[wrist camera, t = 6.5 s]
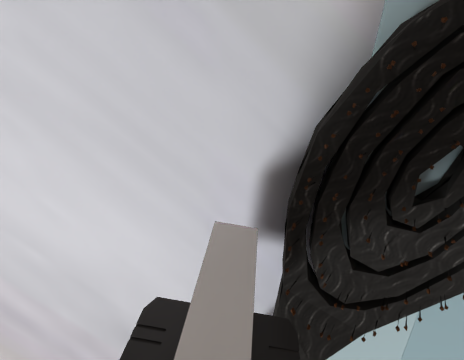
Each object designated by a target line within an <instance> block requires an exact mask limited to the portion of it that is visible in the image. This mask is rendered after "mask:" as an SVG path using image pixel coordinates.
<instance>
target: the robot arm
mask: <svg viewBox="0 0 464 360" xmlns="http://www.w3.org/2000/svg"><path fill="white" fill-rule="evenodd" d="M257 237H258V229H257V228H251V227H246V226H240V225H234V224H228V223H222V222H216V221H215V223H214V226H213V230H212V233H211V237H210V240H209V243H208V247H207V250H206V253H205V257H204V260H203V263H202V267H201V270H200V273H199V277H198V280H197V284H196V287H195V290H194V294H193V297H192V300H191V303H189V302H183V301H178V300H172V299H166V298H161V297H157V298H155V299H154V300H153V301H152V302H151V303H150V304H148V305H147V306H146V307H145V308H144V309H143V311H142V313H141V315H140V317H139V319H138V322H137V324H136V327H135V328H134V330H133V332H132V334H131V337H130V340H129V341H128V343H127V345H126V347H125V349H124V351H123V354H122V356H121V358H120V360H300V355H299V343H298V334H297V332H296V331H295V329H294V327H293V326H292V324H291V322H290V321H289V319H287V318H282V317H276V316H270V315H264V314H259V313H253V312H254V293H255V274H256V256H257Z"/></svg>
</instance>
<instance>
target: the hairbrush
mask: <svg viewBox="0 0 464 360" xmlns="http://www.w3.org/2000/svg"><path fill="white" fill-rule="evenodd" d="M387 84H388V85H387ZM386 85H387V86H386ZM385 86H386V87H385ZM384 87H385V88H384ZM382 88H384V89H383V90H382V91H381V92H380V94H379V95H378V96H377V97H376V98H375V99H374V100H373V102H372V103H371V104H370V102H371V101H372V99H373V98H374V96H375V95H376V93H377V92H379V91H380V90H381V89H382ZM369 104H370V105H369ZM368 105H369V106H368ZM367 106H368V107H367ZM365 109H366V110H365ZM460 145H461V146H462V147H463V149H462V151H461V152H460V153H459V155H458V156H457V158H456V159H455V160H454V162H453V163H452V165H451V166H450V167H449V169H448V170H447V171H446V173H445V174H444V176H443V177H442V178H441V180H440V181H439V183H438V184H436V185H434V186H432V187H430V188H429V189H427V190H425V191H423V192H422V193H420V194H418V195H416V196H415V193H416V189H417V184H418V182H421V179H419V176H420V175H421V174H422V173H423V172H425V171H426V170H427V169H429V168H430V169H433V168H434V166H433V165H434V164H435V163H437V162H438V161H440V160H441V159H442V158H444V157H445V156H446V155H448V154H449V153H450V152H452V151H453V150H454V149H456V148H457V147H459V146H460ZM336 151H337V152H336ZM372 151H373V152H372ZM371 152H372V153H371ZM335 153H336V154H335ZM370 153H371V155H370ZM334 154H335V156H334ZM369 155H370V157H369V159H368V160H367V158H368V156H369ZM333 156H334V158H333V161H332V163H331V165H330V167H329V169H328V171H327V173H326V175H325V177H324V180H323V182H322V184H321V186H320V188H319V185H320V182H321V179H322V176H323V173H324V170H325V167H326V166H327V164H328V163H329V161H330V160H331V159H332V157H333ZM366 161H367V162H366ZM365 163H366V164H365ZM318 189H319V190H318ZM386 191H387V208H388V209H389V210H390V211H391V214H392V216H390V215H389V213H388V211H387V209H386V205H385V193H386ZM316 195H317V197H316ZM315 198H316V203H315V208H314V214H313V220H312V226H311V235H310V250H311V254H310V255H311V259H312V262H313V265H314V269H315V272H316V275H315V273H314V271H313V269H312V268H311V266H310V264H309V262H308V257H307V251H306V226H307V223H308V220H309V217H310V213H311V210H312V207H313V204H314V201H315ZM345 210H346V226H347V242H348V246H349V248H350V250H349V249H348V248H347V247H346V246H345V244H344V241H343V237H342V224H341V219H342V216H343V214H344V212H345ZM316 276H317V277H316ZM462 293H463V294H464V0H439V1H437V2H436V3H434V4H432V5H431V6H429V7H427V8H426V9H424V10H423V11H421V12H419V13H418V14H416V15H414V16H413V17H411V18H409V19H408V20H406V21H405V22H403V23H401V24H400V25H399V27H398V28H397V29H396V30H395V31H394V32H393V33H392V35H391V36H390V37H389V38H388V39H387V40H386V42H385V43H384V44H383V45H382V46H381V47H380V48H379V50H378V51H377V52H376V53H375V54H374V56H373V57H372V58H371V59H370V60H369V61H368V62H367V63H366V64H365V65H364V66H363V67H362V68H361V69H360V71H359V72H358V73H357V75H356V76H355V78H354V79H353V80H352V82H351V83H350V85H349V86H348V87H347V89H346V90H345V91H344V92H343V94H342V95H341V96H340V97H339V99H338V100H337V101H336V102H335V104H334V105H333V106H332V107H331V108H330V110H329V111H328V112H327V113H326V115H325V116H324V117H323V118H322V120H321V121H320V122H319V123H318V125H317V126H316V128H315V130H314V133H313V135H312V138H311V140H310V143H309V146H308V148H307V151H306V153H305V156H304V158H303V161H302V163H301V166H300V169H299V172H298V175H297V178H296V181H295V184H294V186H293V189H292V192H291V195H290V198H289V202H288V209H287V216H286V223H285V240H284V252H283V273H282V278H281V282H280V287H279V291H278V296H277V300H276V305H275V309H274V314H273V316H276V317H282V318H287V319H289V321H290V322H291V324H292V326H293V327H294V329H295V331H296V332H297V334H298V343H299V355H300V360H327V359H328V358H329V357H331V356H332V355H334V354H335V353H337V352H338V351H340V350H341V349H343V348H344V347H346V346H347V345H349V344H350V343H352V342H353V341H355V340H356V339H357V338H359V337H360V336H362V335H363V334H364V336H365V334H366V333H368V332H370V331H373V330H375V329H378V328H380V327H382V326H385V325H387V324H390V323H392V322H394V321H397V320H398V323H399V319H402V318H404V317H406V323H405V326H404V329H405V330H406V331H407V328H408V327H407V316H409V315H411V314H414V313H416V312H419V318H418V320H419V322H421V321H422V318H421V310H423V309H426V308H428V307H431V306H433V305H435V304H438V303H440V308H439V309H440V310H441V311H443V310H444V309H446V310H448V306H446V300H448V299H450V298H452V297H455V296H457V295H460V294H462ZM463 300H464V295H463ZM443 301H445V307H443V306H442V302H443ZM396 330H397V332H398V331H400V328H399V327H398V325H397V326H396ZM376 334H377V333H376V331H373V336H374V337H375V336H376ZM361 339H362V341H363V342H365V341H366V339H365V338H364V337H363V338H361Z"/></svg>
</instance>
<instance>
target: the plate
mask: <svg viewBox="0 0 464 360" xmlns="http://www.w3.org/2000/svg"><path fill="white" fill-rule="evenodd" d="M437 1H439V0H386V1H385V5H384V9H383V13H382V17H381V21H380V25H379V29H378V33H377V38H376V42H375V46H374V50H373V54H372V57H373V56H374V54H375V53H376V52H377V51H378V50H379V48H380V47H381V46H382V45H383V44H384V43H385V42H386V40H387V39H388V38H389V37H390V36H391V35H392V33H393V32H394V31H395V30H396V29H397V28H398V27H399V25H400V24H401V23H403V22H405V21H406V20H408V19H409V18H411V17H413V16H414V15H416V14H418V13H419V12H421V11H423V10H424V9H426V8H427V7H429V6H431V5H432V4H434V3H436V2H437ZM387 85H388V84H387ZM387 85H386V86H387ZM386 86H385V87H386ZM385 87H384V88H385ZM384 88H382V89H381V90H380V91H379V92H377V93H376V95H375V96H374V98H373V99H372V101H371V102H370V104H371V103H372V102H373V100H374V99H375V98H376V97H377V96H378V95H379V94H380V92H381V91H382V90H383V89H384ZM370 104H369V105H370ZM369 105H368V106H369ZM368 106H367V107H368ZM365 110H366V109H365ZM462 149H463V147H462V146H461V145H460V146H459V147H457V148H456V149H454V150H453V151H452V152H450V153H449V154H448V155H446V156H445V157H444V158H442V159H441V160H440V161H438V162H437V163H435V164H434V165H433V166H434V168H433V169H430V168H429V169H427V170H426V171H425V172H423V173H422V174H421V175H420V176H419V179H421V182H418V184H417V189H416V193H415V196H416V195H418V194H420V193H422V192H423V191H425V190H427V189H429V188H430V187H432V186H434V185H436V184H438V183H439V181H440V180H441V178H442V177H443V176H444V174H445V173H446V171H447V170H448V169H449V167H450V166H451V165H452V163H453V162H454V160H455V159H456V158H457V156H458V155H459V153H460V152H461V151H462ZM372 152H373V151H372ZM372 152H371V153H372ZM371 153H370V155H371ZM370 155H369V156H368V158H367V160H368V159H369V157H370ZM366 162H367V161H366ZM365 164H366V163H365ZM385 205H386V209H387V211H388V213H389V215H390V216H392V214H391V211H390V210H389V209H388V208H387V191H386V193H385ZM341 224H342V237H343V241H344V244H345V246H346V247H347V248H348V249H349V250H350V248H349V246H348V242H347V226H346V210H345V212H344V214H343V216H342V219H341ZM463 295H464V294H463V293H462V294H460V295H457V296H455V297H452V298H450V299H448V300H446V306H448V310H446V309H444V310H443V311H441V310H440V309H439V308H440V303H438V304H435V305H433V306H431V307H428V308H426V309H423V310H421V318H422V321H421V322H419V320H418V318H419V312H416V313H414V314H411V315H409V316H407V327H408V328H407V331H406V330H405V329H404V326H405V323H406V317H404V318H402V319H399V323H398V320H397V321H394V322H392V323H390V324H387V325H385V326H382V327H380V328H378V329H375V330H373V331H376V333H377V334H376V336H375V337H374V336H373V331H370V332H368V333H366V334H365V336H364V334H363V335H362V336H360V337H359V338H357V339H356V340H355V341H353V342H352V343H350V344H349V345H347V346H346V347H344V348H343V349H341V350H340V351H338V352H337V353H335V354H334V355H332V356H331V357H329V358H328V359H327V360H464V300H463ZM442 306H443V307H445V301H443V302H442ZM397 325H398V327H399V328H400V331H398V332H397V330H396V326H397ZM363 337H364V338H365V339H366V341H365V342H363V341H362V339H361V338H363Z"/></svg>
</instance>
